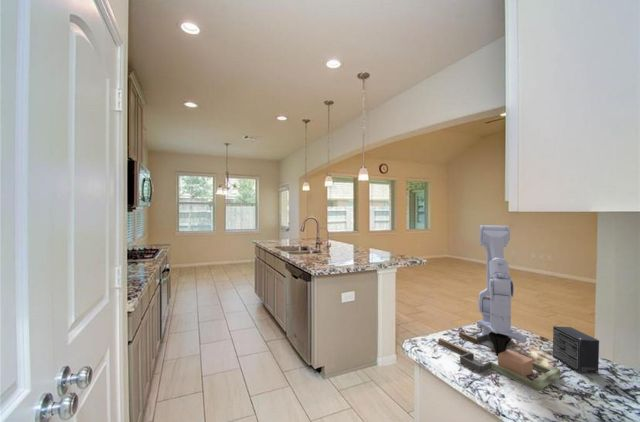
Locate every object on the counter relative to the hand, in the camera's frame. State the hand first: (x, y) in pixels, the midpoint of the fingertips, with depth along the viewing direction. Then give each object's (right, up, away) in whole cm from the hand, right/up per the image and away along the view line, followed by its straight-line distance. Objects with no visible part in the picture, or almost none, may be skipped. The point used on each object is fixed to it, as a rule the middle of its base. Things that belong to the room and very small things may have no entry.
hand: (499, 355), depth 93 cm
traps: (-3, -2, +5) cm, 6 cm away
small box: (+24, -3, -1) cm, 24 cm away
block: (+2, -2, -4) cm, 5 cm away
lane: (-1, -2, +2) cm, 3 cm away
